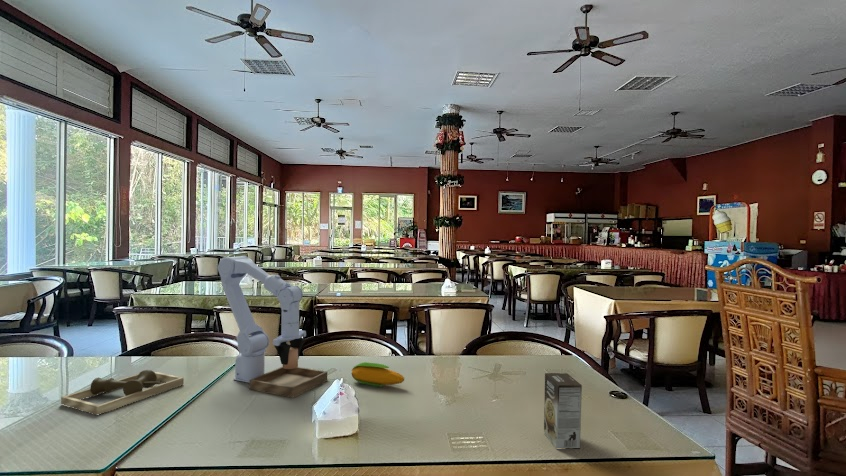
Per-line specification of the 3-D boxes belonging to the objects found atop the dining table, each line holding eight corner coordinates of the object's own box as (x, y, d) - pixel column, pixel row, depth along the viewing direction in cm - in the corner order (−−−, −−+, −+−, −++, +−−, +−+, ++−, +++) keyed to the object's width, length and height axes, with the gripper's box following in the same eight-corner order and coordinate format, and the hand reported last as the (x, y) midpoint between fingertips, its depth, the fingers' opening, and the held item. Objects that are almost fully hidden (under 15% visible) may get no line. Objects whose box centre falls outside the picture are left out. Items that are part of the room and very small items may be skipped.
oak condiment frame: (61, 405, 130) (61, 396, 130) (149, 377, 155) (149, 370, 155) (97, 415, 124) (97, 406, 124) (183, 384, 148) (183, 377, 148)
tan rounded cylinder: (279, 367, 149) (279, 350, 149) (289, 363, 154) (289, 346, 153) (290, 369, 147) (291, 351, 147) (301, 365, 151) (301, 348, 151)
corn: (357, 356, 158) (409, 363, 151) (358, 377, 159) (409, 385, 152) (347, 363, 151) (400, 371, 144) (347, 385, 152) (400, 393, 145)
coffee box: (542, 433, 117) (543, 372, 117) (566, 432, 118) (567, 372, 118) (555, 450, 108) (557, 384, 108) (581, 449, 109) (582, 384, 108)
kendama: (104, 389, 143) (168, 386, 145) (84, 401, 134) (154, 398, 136) (103, 371, 143) (168, 368, 145) (83, 382, 133) (153, 378, 135)
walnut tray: (249, 389, 146) (249, 379, 146) (286, 373, 162) (286, 364, 162) (293, 397, 139) (293, 388, 139) (327, 380, 155) (327, 371, 155)
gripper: (285, 327, 142) (284, 369, 142) (313, 319, 155) (312, 357, 155) (267, 325, 145) (267, 366, 145) (296, 317, 158) (296, 355, 158)
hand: (289, 361), depth 150 cm, fingers closed on tan rounded cylinder, 5 cm apart
